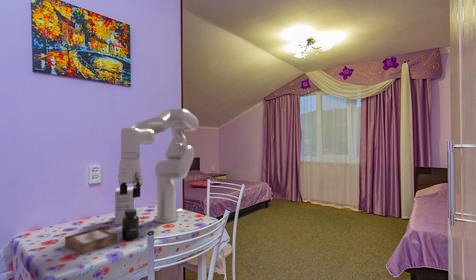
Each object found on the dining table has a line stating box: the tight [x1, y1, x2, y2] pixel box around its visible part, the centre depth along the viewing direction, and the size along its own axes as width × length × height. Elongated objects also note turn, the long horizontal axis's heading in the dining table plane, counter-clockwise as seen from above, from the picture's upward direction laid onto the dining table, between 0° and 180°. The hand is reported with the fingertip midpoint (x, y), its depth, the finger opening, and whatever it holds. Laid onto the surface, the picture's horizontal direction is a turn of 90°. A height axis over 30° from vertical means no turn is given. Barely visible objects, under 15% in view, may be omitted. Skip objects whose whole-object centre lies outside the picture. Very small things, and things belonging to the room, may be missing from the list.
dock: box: [64, 227, 118, 256], centre depth 106 cm, size 14×14×4 cm
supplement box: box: [114, 186, 136, 225], centre depth 136 cm, size 10×9×17 cm
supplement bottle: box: [121, 209, 140, 242], centre depth 112 cm, size 7×7×12 cm
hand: (129, 195), depth 112 cm, fingers open, 9 cm apart
